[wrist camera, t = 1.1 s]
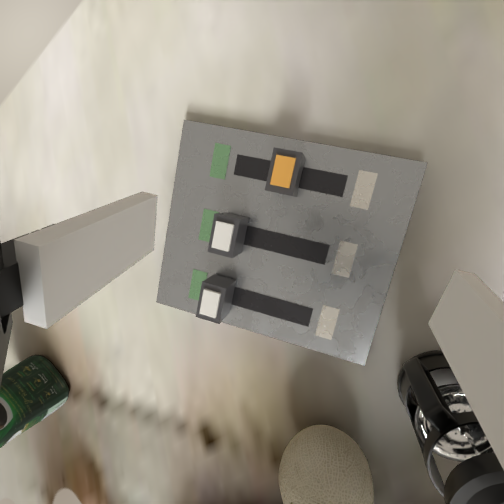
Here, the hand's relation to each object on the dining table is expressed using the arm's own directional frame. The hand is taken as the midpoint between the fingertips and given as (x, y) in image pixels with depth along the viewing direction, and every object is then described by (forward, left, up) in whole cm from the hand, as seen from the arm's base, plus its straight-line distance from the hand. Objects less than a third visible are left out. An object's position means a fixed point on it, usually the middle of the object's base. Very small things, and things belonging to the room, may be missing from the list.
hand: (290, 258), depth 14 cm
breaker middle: (-3, +9, -24) cm, 26 cm away
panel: (-3, +4, -25) cm, 26 cm away
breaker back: (-11, +9, -24) cm, 28 cm away
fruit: (-28, -9, -25) cm, 39 cm away
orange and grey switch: (+5, +4, -24) cm, 25 cm away
